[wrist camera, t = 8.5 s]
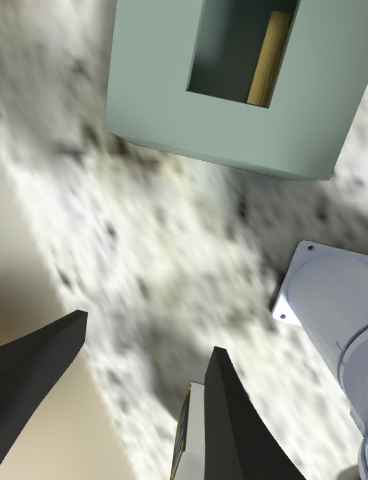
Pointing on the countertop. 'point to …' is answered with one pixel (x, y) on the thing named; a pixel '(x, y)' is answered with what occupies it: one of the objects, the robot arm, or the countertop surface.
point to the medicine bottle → (190, 437)
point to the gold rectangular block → (268, 59)
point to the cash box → (238, 82)
